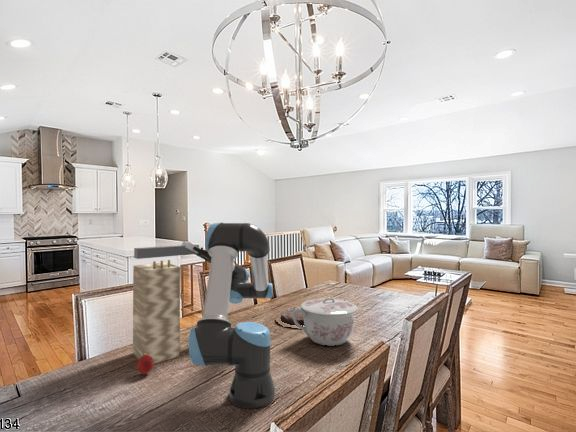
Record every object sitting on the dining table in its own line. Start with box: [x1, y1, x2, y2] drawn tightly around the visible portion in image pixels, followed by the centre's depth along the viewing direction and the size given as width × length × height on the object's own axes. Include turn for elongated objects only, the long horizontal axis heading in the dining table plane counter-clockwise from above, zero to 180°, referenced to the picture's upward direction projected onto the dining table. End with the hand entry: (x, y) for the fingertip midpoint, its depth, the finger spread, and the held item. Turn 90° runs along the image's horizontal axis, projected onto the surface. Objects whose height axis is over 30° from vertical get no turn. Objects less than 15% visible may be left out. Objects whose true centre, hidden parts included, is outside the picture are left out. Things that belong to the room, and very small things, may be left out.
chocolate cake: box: [280, 306, 304, 326], centre depth 183 cm, size 28×28×7 cm
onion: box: [136, 353, 155, 375], centre depth 120 cm, size 6×6×8 cm
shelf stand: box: [132, 259, 181, 365], centre depth 137 cm, size 14×16×41 cm
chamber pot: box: [292, 297, 359, 347], centre depth 154 cm, size 28×28×21 cm
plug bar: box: [133, 244, 200, 260], centre depth 140 cm, size 27×4×4 cm, turn 132°
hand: (184, 244), depth 145 cm, fingers closed on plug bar, 4 cm apart
